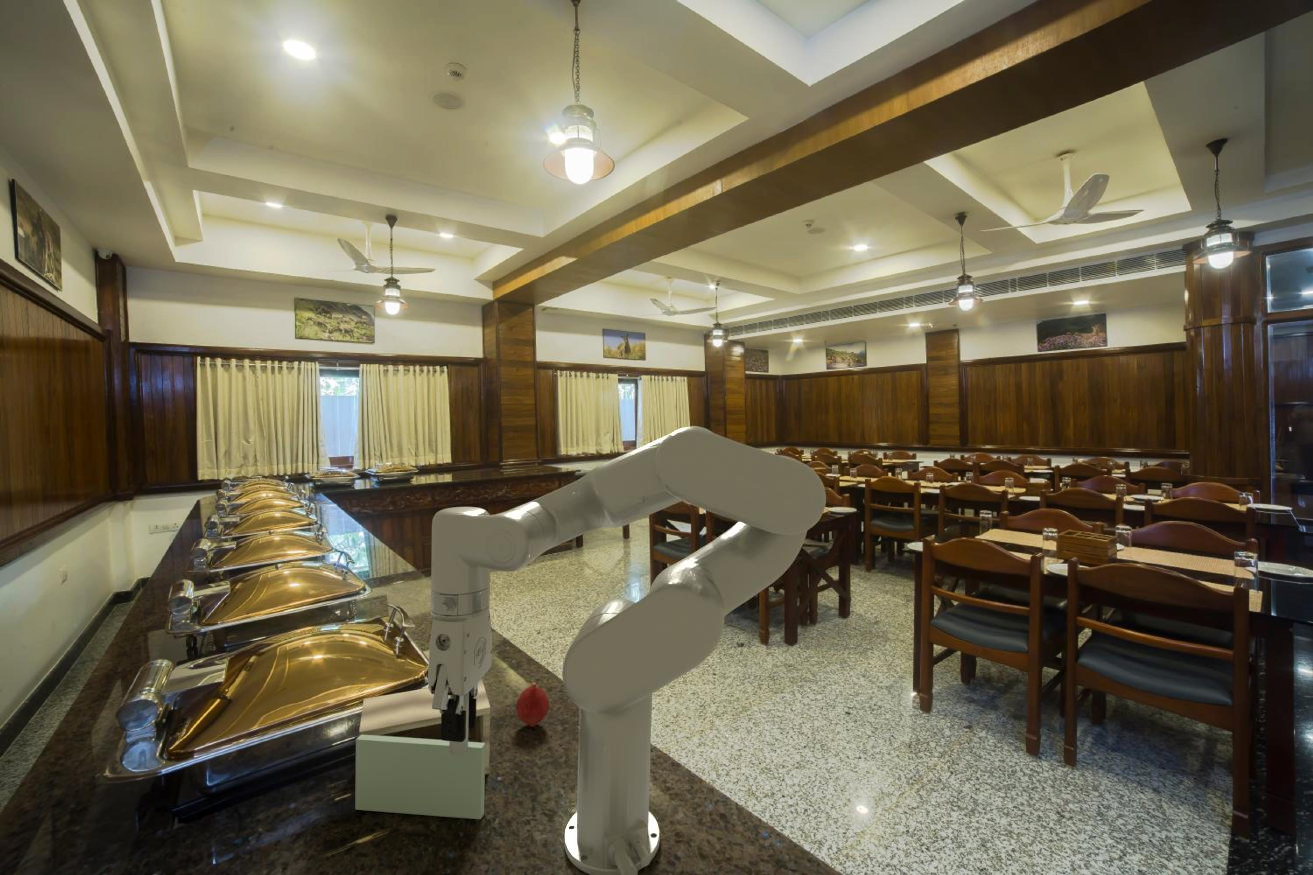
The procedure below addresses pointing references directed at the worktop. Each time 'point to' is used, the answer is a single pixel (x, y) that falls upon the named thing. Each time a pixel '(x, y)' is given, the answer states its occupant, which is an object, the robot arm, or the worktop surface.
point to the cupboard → (420, 717)
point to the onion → (532, 705)
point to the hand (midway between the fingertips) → (458, 732)
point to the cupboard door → (421, 775)
